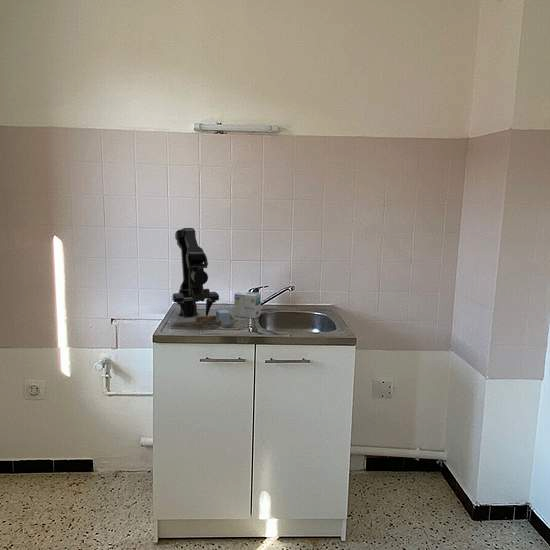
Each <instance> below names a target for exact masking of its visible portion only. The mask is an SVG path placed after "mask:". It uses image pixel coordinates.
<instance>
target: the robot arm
mask: <svg viewBox="0 0 550 550" xmlns="http://www.w3.org/2000/svg"><path fill="white" fill-rule="evenodd" d="M174 235H175V237H174V238H175V241H176V244H177V246H178V247H179V249H180V252H181V253H180V254H181V267H182V282H181V284H180V285H179V286H180V287H179V290H178V292H177V293H176V292H174V293H173V294H172V296H171V297H172V302H173V303H176V304H177V305H179V306H180V308H179V309H180V313H178V316H182V317H184V319H185V318H186V317H189V318H190V317H193V316H195V315H198V310H197V309H198V308H197V307H198V305H197V303H198V302H204V301H205V300H206V301H205V302H206V303H205V316H209V312H210V310H211V307H212V305H213V304H214V303H216V302H217V301H220V295H219V294H218V293H217V291H210V288H204V285H205V284H206V283H207V282H208V280H209V275H208V273H207V272H206V271H205V269H207V268H208V265H209V261H208V258H207V255H206V253H205V251H204V249H203V248H202V247H201V246H199V245H198V241H197V238H196V230H195V228H193V227H183V228H182V229H177V230H176V231H175V233H174Z"/></svg>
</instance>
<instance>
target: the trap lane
mask: <svg viewBox="0 0 550 550" xmlns="http://www.w3.org/2000/svg"><path fill="white" fill-rule="evenodd" d="M213 320H216V315H208V316H206V315H205V316H195V322H196V323H197V322H198V321H200V322H198V323H199V327H200V328H204V327H203V326H206V327H205V328H206V329H207V330H216V329H215V328H219V329H221V327H222V328H224V329H231V328H232V327H233V328H235V325H238V319H237V318H236V316H234V315H233V314H230V324H221V321H218V323H217V325H207V322H210V321H211V322H214V321H213ZM220 326H221V327H220Z"/></svg>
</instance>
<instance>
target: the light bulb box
mask: <svg viewBox="0 0 550 550" xmlns="http://www.w3.org/2000/svg"><path fill="white" fill-rule="evenodd" d="M261 294H262V293H261V292H252V291H241V290H240V291H237V292H235V293H234V300H233V301H234V303H233V304H234V307H233V309H234V311H233V312H234V315H233V316H234V317H239V318H247V319H257V318H258V317H261V314H262V313H261V309H262V307H261V304H262V303H261V301H262V300H261V299H262V298H261V297H262V295H261ZM250 317H252V318H250Z"/></svg>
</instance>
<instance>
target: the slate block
mask: <svg viewBox="0 0 550 550" xmlns="http://www.w3.org/2000/svg"><path fill="white" fill-rule="evenodd" d="M230 315H231V312H230V311H229V310H228V309H219V310H215V316H216V321H215V322H216V324H218V321H221V325H231V320H230Z"/></svg>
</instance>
